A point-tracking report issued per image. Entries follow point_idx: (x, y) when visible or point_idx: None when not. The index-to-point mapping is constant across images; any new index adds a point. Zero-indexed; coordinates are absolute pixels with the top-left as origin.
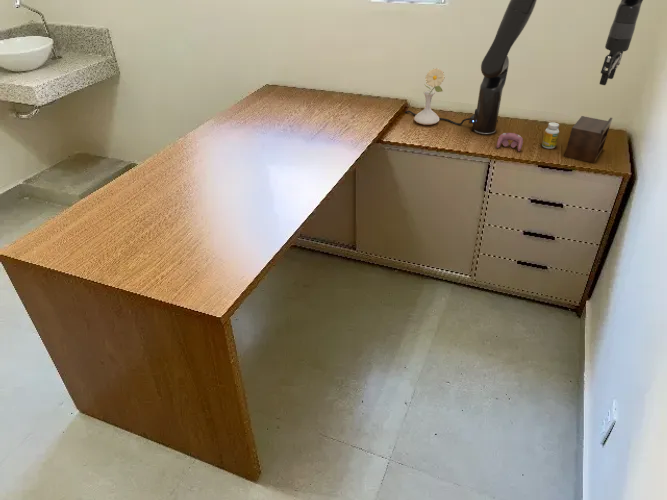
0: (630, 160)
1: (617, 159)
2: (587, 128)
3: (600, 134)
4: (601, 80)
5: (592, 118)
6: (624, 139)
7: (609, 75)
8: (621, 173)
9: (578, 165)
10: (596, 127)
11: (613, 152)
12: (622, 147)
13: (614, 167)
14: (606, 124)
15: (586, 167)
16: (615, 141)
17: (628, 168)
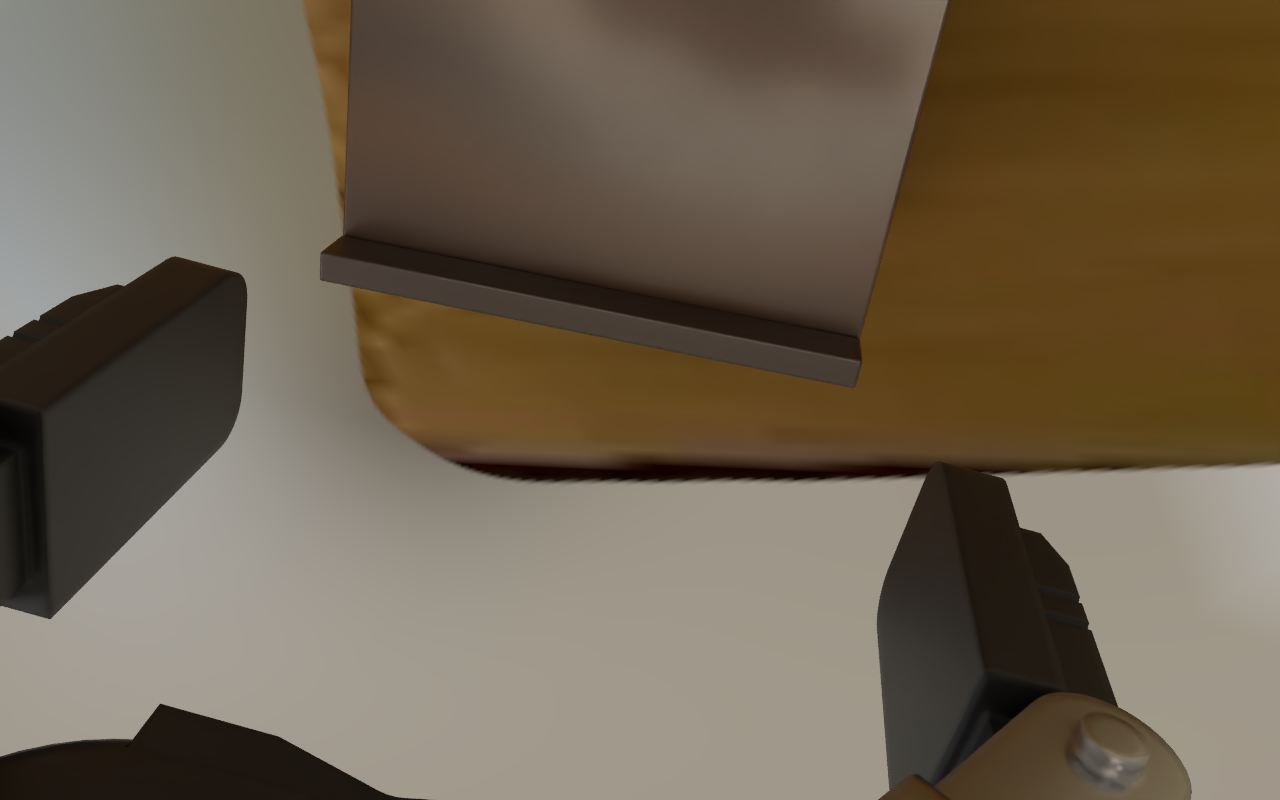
0: (681, 469)
1: (657, 366)
2: (436, 52)
3: (348, 233)
4: (35, 331)
5: (900, 101)
6: (1218, 441)
7: (918, 564)
8: (371, 391)
9: (340, 10)
10: (536, 176)
11: None
12: (980, 416)
13: (465, 339)
14: (546, 310)
15: (335, 93)
16: (1135, 356)
17: (501, 447)
